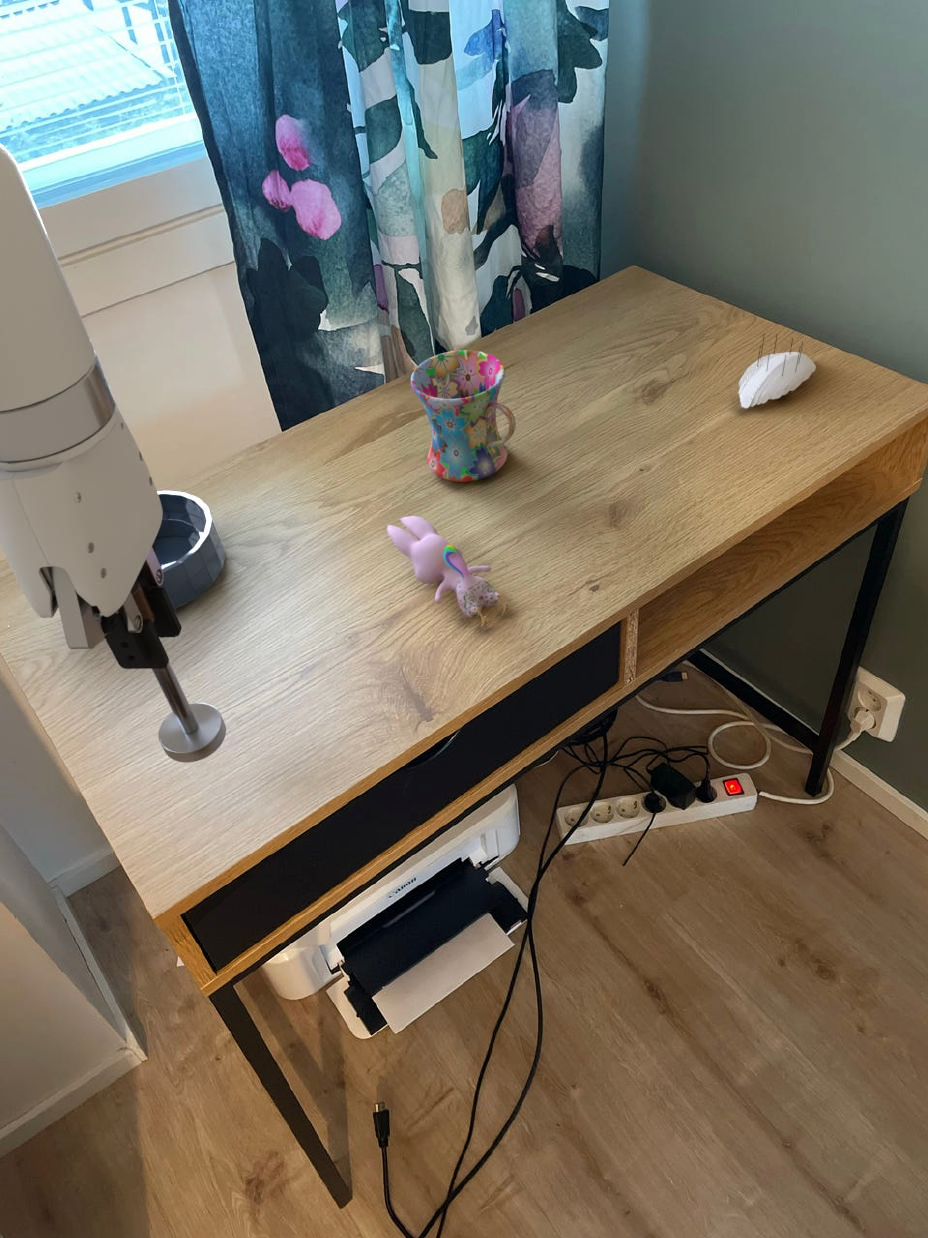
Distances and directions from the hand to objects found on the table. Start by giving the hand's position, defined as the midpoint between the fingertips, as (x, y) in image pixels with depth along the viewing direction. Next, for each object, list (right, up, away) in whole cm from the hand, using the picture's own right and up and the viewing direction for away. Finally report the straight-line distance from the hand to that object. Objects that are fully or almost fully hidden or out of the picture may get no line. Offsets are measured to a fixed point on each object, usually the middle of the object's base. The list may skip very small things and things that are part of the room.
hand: (152, 648), depth 59 cm
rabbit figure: (+19, +5, +24) cm, 31 cm away
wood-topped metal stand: (+1, -7, +7) cm, 10 cm away
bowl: (-9, +6, +29) cm, 31 cm away
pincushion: (+55, +28, +40) cm, 74 cm away
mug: (+22, +18, +36) cm, 45 cm away
